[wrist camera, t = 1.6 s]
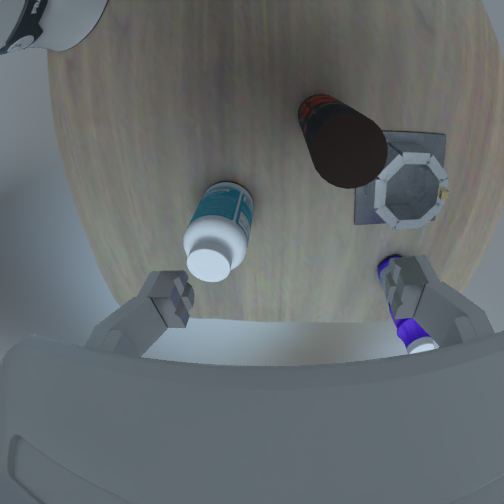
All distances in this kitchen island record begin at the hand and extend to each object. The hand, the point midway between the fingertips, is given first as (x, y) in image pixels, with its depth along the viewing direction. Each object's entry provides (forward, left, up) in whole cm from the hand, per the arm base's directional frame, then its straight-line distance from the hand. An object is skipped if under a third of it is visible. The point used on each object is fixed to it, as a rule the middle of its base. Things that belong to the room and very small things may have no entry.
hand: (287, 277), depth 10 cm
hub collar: (+8, +16, -26) cm, 32 cm away
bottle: (+25, +17, -27) cm, 40 cm away
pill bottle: (+10, -9, -27) cm, 30 cm away
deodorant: (-1, +5, -27) cm, 27 cm away
